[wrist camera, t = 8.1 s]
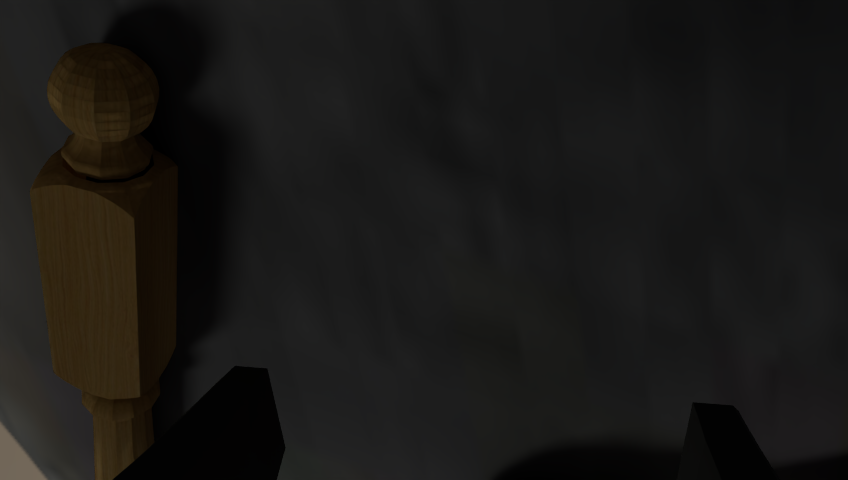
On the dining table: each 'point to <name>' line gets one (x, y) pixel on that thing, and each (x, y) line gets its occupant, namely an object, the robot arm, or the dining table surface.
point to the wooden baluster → (108, 247)
